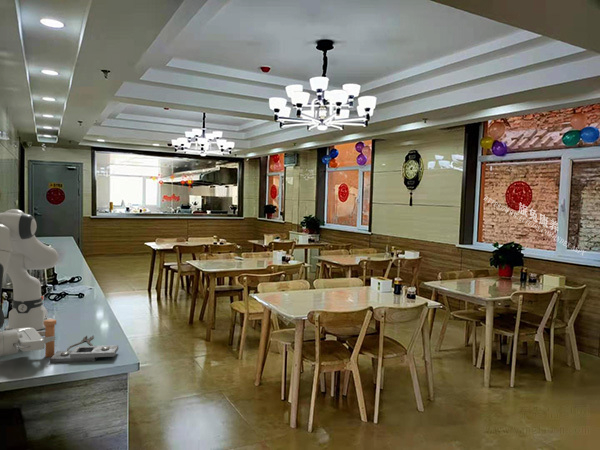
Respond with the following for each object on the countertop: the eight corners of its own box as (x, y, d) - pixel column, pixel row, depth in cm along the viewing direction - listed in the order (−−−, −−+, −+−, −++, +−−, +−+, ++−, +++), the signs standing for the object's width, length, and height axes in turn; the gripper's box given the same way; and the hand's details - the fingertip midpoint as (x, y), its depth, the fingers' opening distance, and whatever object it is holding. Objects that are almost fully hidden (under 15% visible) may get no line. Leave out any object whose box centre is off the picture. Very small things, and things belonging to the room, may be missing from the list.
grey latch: (57, 355, 179) (57, 345, 178) (118, 352, 183) (118, 343, 183) (49, 363, 170) (49, 353, 170) (114, 360, 175) (114, 350, 175)
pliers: (66, 351, 182) (70, 336, 200) (66, 353, 182) (70, 338, 200) (92, 348, 186) (94, 334, 204) (92, 350, 186) (94, 336, 204)
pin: (45, 354, 179) (45, 319, 179) (57, 353, 180) (57, 319, 180) (41, 357, 175) (41, 322, 174) (54, 357, 176) (54, 322, 175)
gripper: (16, 340, 161) (59, 334, 170) (6, 327, 176) (46, 321, 185) (16, 358, 161) (59, 350, 170) (6, 343, 176) (46, 336, 186)
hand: (52, 335), depth 178 cm, fingers open, 6 cm apart
